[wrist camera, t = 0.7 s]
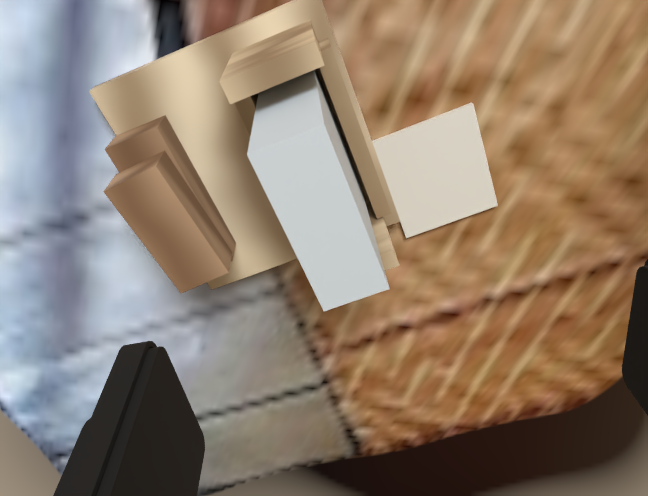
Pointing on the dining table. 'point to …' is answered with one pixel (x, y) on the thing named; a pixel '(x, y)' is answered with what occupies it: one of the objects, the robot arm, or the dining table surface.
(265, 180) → the white rectangular block
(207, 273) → the offcut top
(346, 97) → the rack
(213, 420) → the dining table surface
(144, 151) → the block
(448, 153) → the felt pad
